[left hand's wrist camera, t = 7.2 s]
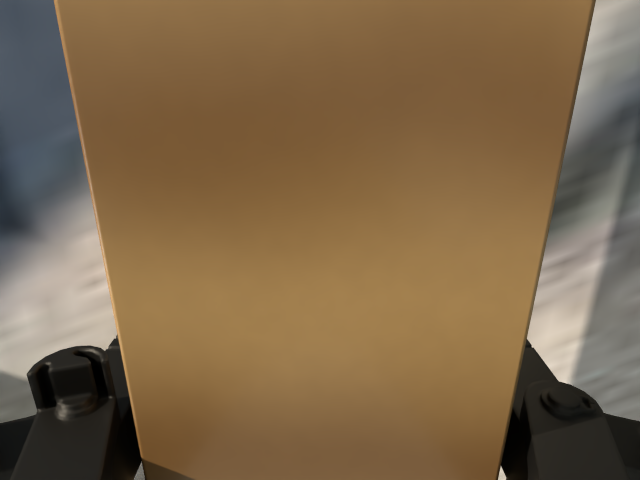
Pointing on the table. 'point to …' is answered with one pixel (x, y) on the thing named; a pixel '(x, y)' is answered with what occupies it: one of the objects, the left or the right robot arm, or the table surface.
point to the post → (323, 223)
